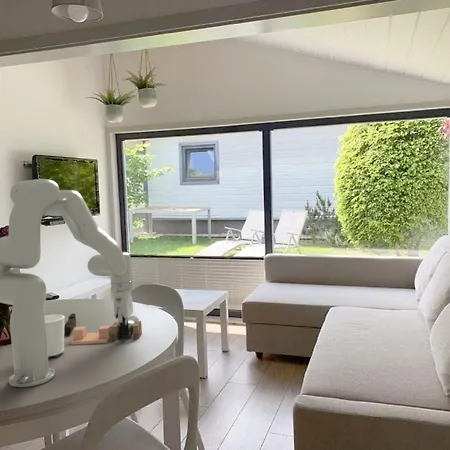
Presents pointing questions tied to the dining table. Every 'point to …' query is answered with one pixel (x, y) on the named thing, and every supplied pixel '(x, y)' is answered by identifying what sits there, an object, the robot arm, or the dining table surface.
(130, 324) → the axle
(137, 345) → the dining table surface
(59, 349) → the cup
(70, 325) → the hand tool
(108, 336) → the cradle
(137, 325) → the channel block
